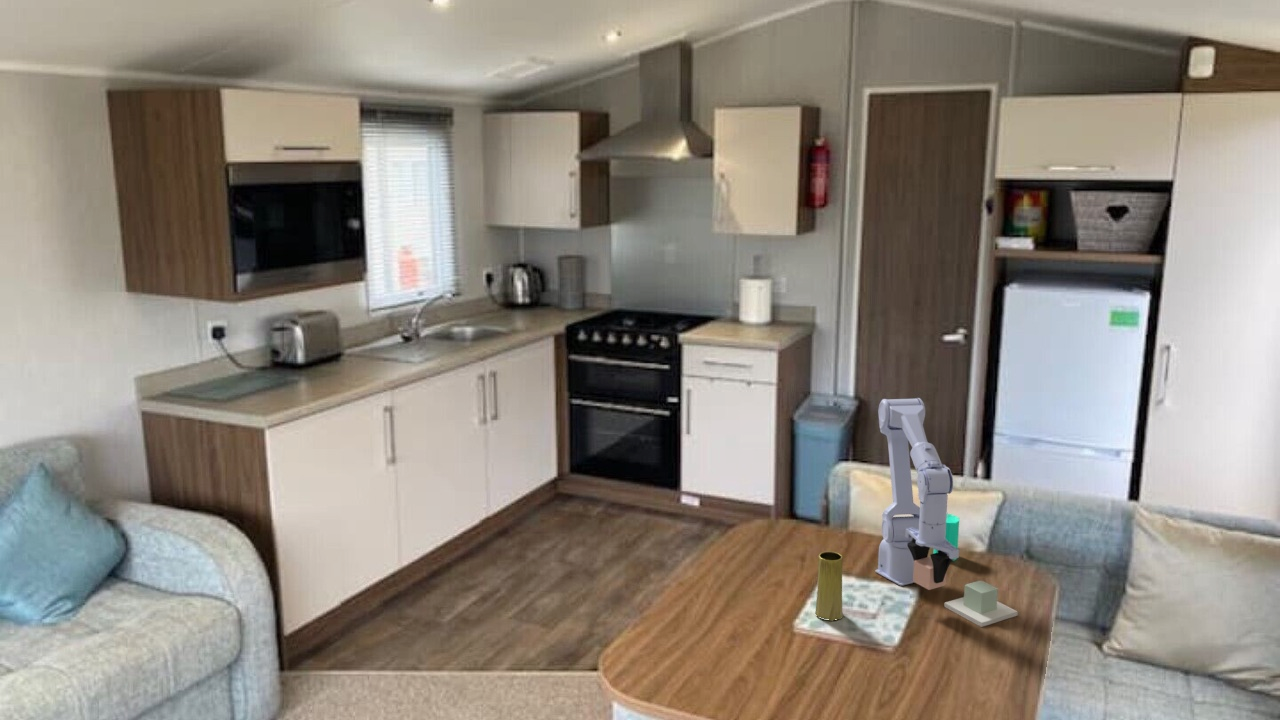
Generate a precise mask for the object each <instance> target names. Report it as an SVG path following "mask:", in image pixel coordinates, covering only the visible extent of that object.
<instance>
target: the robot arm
mask: <svg viewBox="0 0 1280 720" xmlns="http://www.w3.org/2000/svg"><path fill="white" fill-rule="evenodd" d="M877 413H878V414H877V415H878V424H879V430H880V433H881V434H883V435H885V436H886V440H887V447H888V458H889V459H888V460H889V469H890V470H889V473H890V483H891V484H890V485H891V494H892V497H891V498H892V503H891V504H890V505H889V506H888V507H886V508H885V509H884V510H883V511H882V515H881V517H882V521H881V534H882V537H883V539H882V540H881V542H880V543H879V547H878V560H877V561H878V562H877V564H878V565H877V569H875V573H877V574H879V575H880V576H882V577H884V578H886V579H888V580H889V581H891V582H893V583H894V584H897V585H898V586H901V587H904V586H906V585H910V584H913V583H915V582H913V571H914V561H915V560H919V559H923V558H926V557H930V556H931V559H932V562H933V568H934V582H935V583H940V582H943V580H944V577H945V574H946V575H947V570H948V569H949V567H950V565H951V564H952V563H953V562H954V561H953V559H956V558H957V559H959V558H960V555H959V554H960V549H957V548H955V547H954V546H953V545H952V544H951V543H949V542H948V541H947V540H946V539H945V534H946V516H947V512H948V499H949V498H948V497H949V495H950V494H952V492H953V489H954V478H953V477H954V476H953V474H952V471H951V469H950V468H949V467H948V466H946V464H943V463H942V461H941V459H940V456H939V453H938V451H937V449H936V447H935V445H934V444H933V443H931V442H928V438H927V436H926V432H925V428H924V425H923V424H924V421H925V419H926V418H925V417H926V406H925V403H924V401H923V400H922V399H921V397H916V398H895V399H894V398H892V399H887V398H882V399H881V401H880V403H879V404H878V412H877ZM909 444H910V446H911V450H910V449H909ZM910 457H911V458H910ZM910 459H911V460H912V463H913V465H914V468H915V471H916V474H917V477H916V484H917V489H918V490H917V491H918V493H917V494H918V495H917V496H918V500H919V501H920V502H919V505H917V504H916V503H915V502H914V495H913V483H912V482H913V481H912V470H911V460H910ZM948 494H949V495H948ZM898 515H908V516H898ZM909 515H911V516H909ZM930 549H935V550H937V551H938V553H934V554H933V553H930ZM929 553H930V556H929Z"/></svg>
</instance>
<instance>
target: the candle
mask: <svg viewBox="0 0 1280 720" xmlns="http://www.w3.org/2000/svg"><path fill="white" fill-rule="evenodd" d="M959 528H960V517H958V516H957V515H955V514H954V515H953V514H950V513H948V511H947V516H946V534H945V539H946V540H947V541H948V542H949V543H951V544H952V545H953V546H954V547H955V548H957V549H958V548H959V546H958V545H959V531H960V529H959ZM932 549H933V548H932ZM934 553H938V551H937V550H935V549H933V553H932V554H934ZM956 560H958V558H956V559H953V561H952V562H955V561H956Z"/></svg>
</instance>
